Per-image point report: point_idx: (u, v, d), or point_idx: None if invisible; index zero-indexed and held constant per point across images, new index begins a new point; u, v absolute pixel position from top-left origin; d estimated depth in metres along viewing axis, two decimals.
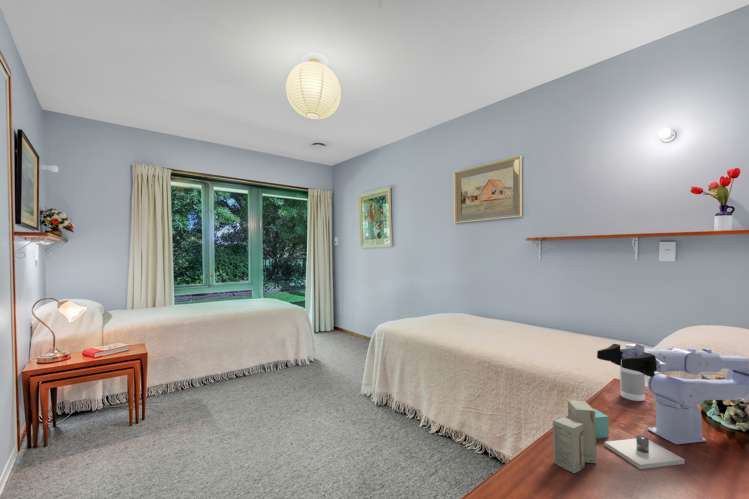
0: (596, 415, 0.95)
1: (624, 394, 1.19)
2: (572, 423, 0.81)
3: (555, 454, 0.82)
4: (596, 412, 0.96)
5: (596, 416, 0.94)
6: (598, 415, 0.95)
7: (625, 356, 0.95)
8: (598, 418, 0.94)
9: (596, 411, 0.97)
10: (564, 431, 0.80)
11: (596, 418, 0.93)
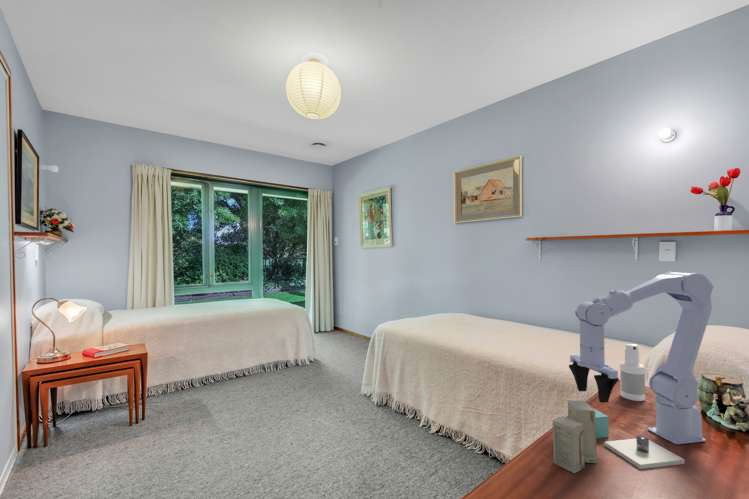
0: (596, 415, 0.95)
1: (624, 394, 1.19)
2: (572, 423, 0.81)
3: (555, 454, 0.82)
4: (596, 412, 0.96)
5: (596, 416, 0.94)
6: (598, 415, 0.95)
7: None
8: (598, 418, 0.94)
9: (596, 411, 0.97)
10: (564, 430, 0.80)
11: (596, 418, 0.93)
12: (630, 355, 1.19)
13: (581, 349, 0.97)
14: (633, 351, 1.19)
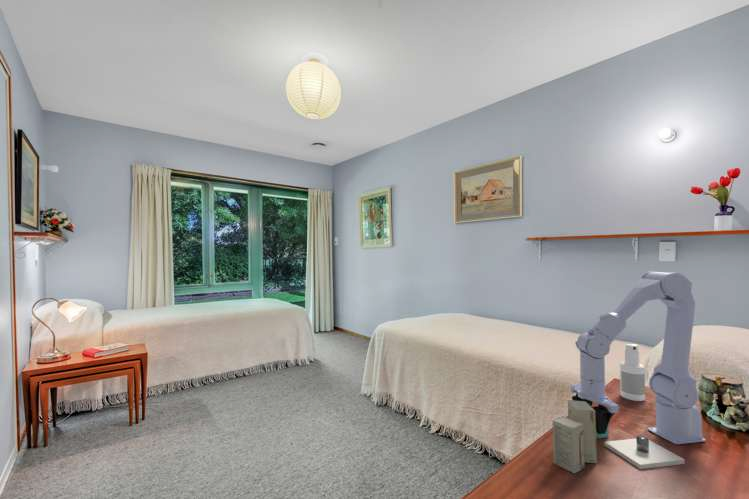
0: None
1: (624, 394, 1.19)
2: (572, 423, 0.81)
3: (555, 454, 0.82)
4: None
5: None
6: None
7: None
8: None
9: None
10: (564, 430, 0.80)
11: None
12: (630, 355, 1.19)
13: (581, 381, 0.96)
14: (633, 351, 1.19)
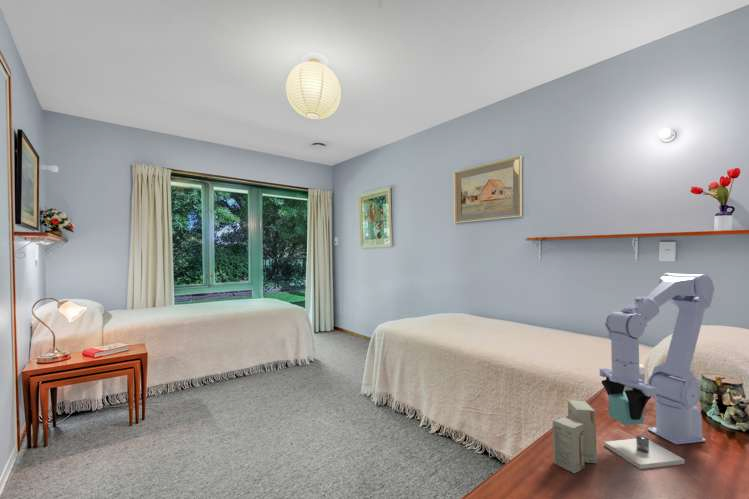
0: None
1: None
2: (572, 423, 0.81)
3: (555, 454, 0.82)
4: None
5: None
6: None
7: None
8: None
9: None
10: (564, 431, 0.80)
11: None
12: None
13: (613, 363, 0.89)
14: None
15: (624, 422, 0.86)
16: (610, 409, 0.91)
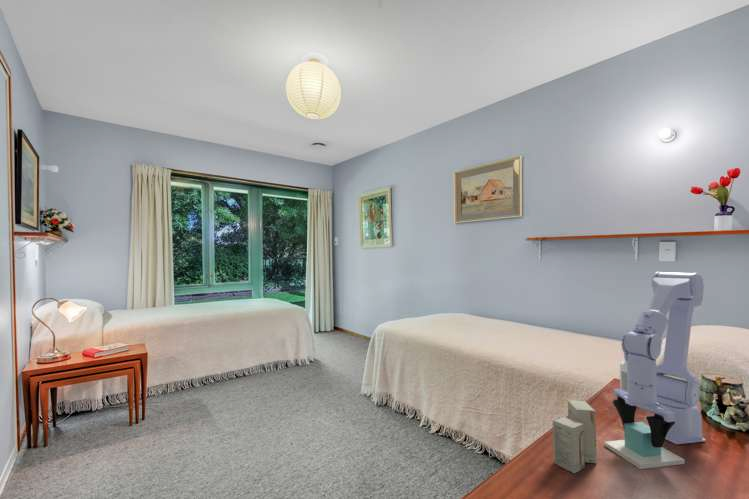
0: (647, 430, 0.84)
1: None
2: (572, 423, 0.81)
3: (555, 454, 0.82)
4: (645, 426, 0.86)
5: (647, 431, 0.84)
6: (649, 430, 0.84)
7: None
8: (649, 434, 0.83)
9: (645, 425, 0.87)
10: (564, 430, 0.80)
11: (647, 434, 0.83)
12: None
13: (629, 385, 0.86)
14: None
15: (642, 454, 0.83)
16: (625, 438, 0.88)
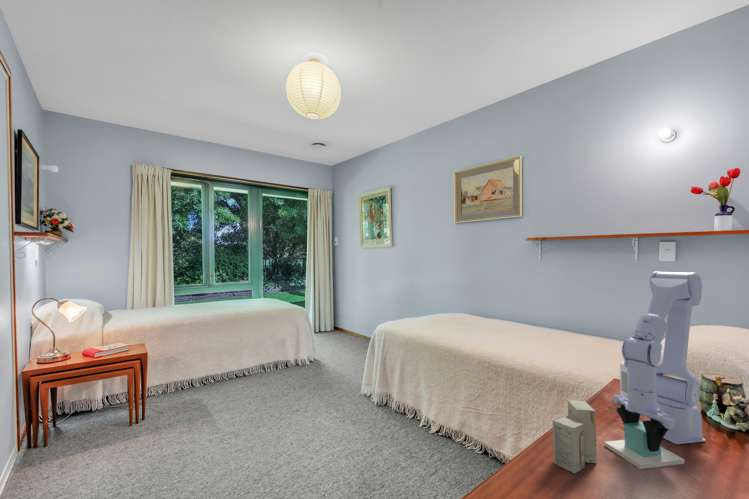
0: None
1: (624, 394, 1.19)
2: (572, 423, 0.81)
3: (555, 454, 0.82)
4: None
5: None
6: None
7: None
8: None
9: None
10: (564, 430, 0.80)
11: None
12: None
13: (629, 391, 0.86)
14: None
15: (642, 454, 0.83)
16: (625, 438, 0.88)
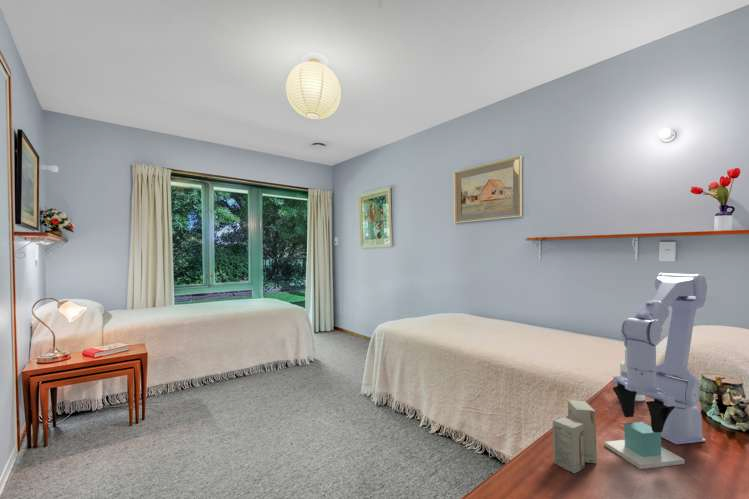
0: (646, 430, 0.84)
1: None
2: (572, 423, 0.81)
3: (555, 454, 0.82)
4: (645, 426, 0.86)
5: (647, 431, 0.84)
6: (649, 430, 0.84)
7: None
8: (649, 434, 0.83)
9: (645, 425, 0.87)
10: (564, 431, 0.80)
11: (647, 434, 0.83)
12: None
13: (629, 371, 0.86)
14: None
15: (642, 453, 0.83)
16: (625, 438, 0.88)
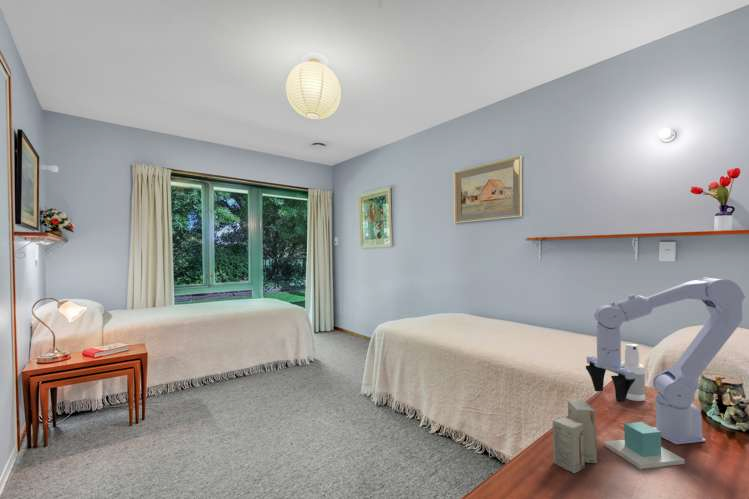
0: (646, 430, 0.84)
1: None
2: (572, 423, 0.81)
3: (555, 454, 0.82)
4: (645, 426, 0.86)
5: (647, 431, 0.84)
6: (649, 430, 0.84)
7: None
8: (649, 434, 0.83)
9: (645, 425, 0.87)
10: (564, 430, 0.80)
11: (647, 434, 0.83)
12: (630, 355, 1.19)
13: (598, 351, 1.01)
14: (633, 351, 1.19)
15: (642, 453, 0.83)
16: (625, 438, 0.88)
